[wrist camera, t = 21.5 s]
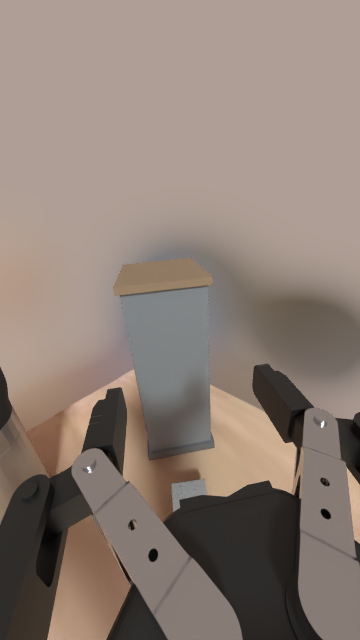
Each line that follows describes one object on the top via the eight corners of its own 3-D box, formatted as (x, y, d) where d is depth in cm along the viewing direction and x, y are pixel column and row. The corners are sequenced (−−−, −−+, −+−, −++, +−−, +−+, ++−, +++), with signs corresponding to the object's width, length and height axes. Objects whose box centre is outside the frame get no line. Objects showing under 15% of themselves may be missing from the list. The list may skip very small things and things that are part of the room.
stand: (147, 401, 53) (122, 264, 39) (197, 393, 54) (190, 257, 40) (149, 460, 40) (113, 287, 26) (214, 447, 41) (212, 276, 28)
